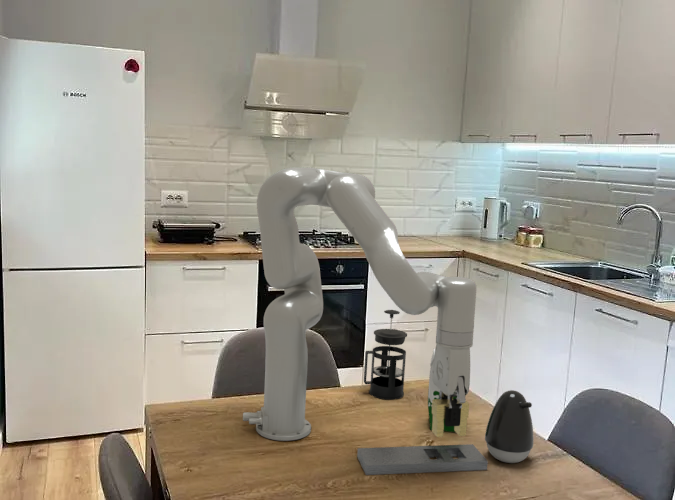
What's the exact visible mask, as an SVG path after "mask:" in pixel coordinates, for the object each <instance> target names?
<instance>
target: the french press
mask: <svg viewBox="0 0 675 500" xmlns="http://www.w3.org/2000/svg"><path fill="white" fill-rule="evenodd" d="M383 313H385V314H388V315H389V318H390V325H389V326H390V327H389V328H380V329H375V330H373V335H374V341H375V342H376V343H378V344H381V345H380V346H375V347H373V348H372V350H366V351H365V354H364V369H363V370H364V371H363V383H364V385H370V388H369V390H368V393H369V395H370V396H372V397H374V398H375V399H376V398H377V399H379V400H386V401H387V400H388V401H392V400H393V401H394V400H399V399H402V398H403V397H404V395H405V393H404V385H405V374H406V373H405V369H406V356H407V351H406V350H405V349H403V348H401V347H398V346H400V345H403V344H404V343H405V340H406V338H407V337H408V333H407V332H405V331H403V330H399V329H394V328H392V326H393V325H392V323H393V319H394V315H400V314H401V313H400V311H399V310H396V309H395V310H394V309H386V310H384V311H383ZM379 352H381V353H379ZM391 352H395V353H399V354H398V355H390V354H391ZM369 354H371V355H372V356H371V370H370V380H369V381H368V380H367V377H368V376H367V373H368V372H367V370H368V358H369V356H368V355H369ZM375 358H376V359H378V360H380V365H378V366H375ZM398 361H402V364H401V365H402V367H401V368H399V367H397V362H398ZM374 375H375V376H374ZM400 377H401V379H400Z"/></svg>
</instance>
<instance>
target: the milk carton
mask: <svg viewBox="0 0 675 500" xmlns="http://www.w3.org/2000/svg"><path fill="white" fill-rule="evenodd" d="M434 355H435V348H433V351H432V355H431V359H430V363H429V365H430V369H429V379H428V380H429V381H428V391H427V413H428V420H429V429H430V431H432V422H433V414H432V400H435V399H439V393H440V389H439V388H438V387H437V386H436V385H435V384H434V383H433V381H432V373H433V363H434ZM455 392H457V391H454V393H455ZM466 396H467V395H465V397H466ZM454 398H457V397H453V399H454ZM443 432H448V433H450V432H451V433H456V432H455V431H454V426H446V425H445V419H444V430H443Z"/></svg>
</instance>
